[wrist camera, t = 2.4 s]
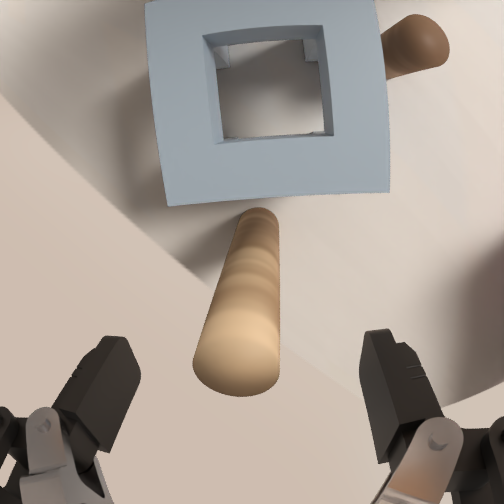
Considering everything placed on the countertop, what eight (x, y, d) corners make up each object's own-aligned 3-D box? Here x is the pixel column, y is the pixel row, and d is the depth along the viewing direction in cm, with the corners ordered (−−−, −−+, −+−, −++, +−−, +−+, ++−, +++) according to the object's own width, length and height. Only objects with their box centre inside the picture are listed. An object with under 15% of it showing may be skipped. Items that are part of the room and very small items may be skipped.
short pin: (359, 39, 13) (394, 9, 8) (398, 43, 13) (444, 20, 8) (364, 77, 15) (403, 62, 9) (402, 81, 14) (452, 71, 9)
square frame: (197, 45, 14) (144, 3, 7) (332, 35, 14) (370, -17, 6) (211, 169, 18) (167, 206, 11) (343, 160, 17) (389, 192, 10)
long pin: (236, 208, 19) (183, 338, 8) (277, 206, 19) (277, 338, 8) (240, 246, 20) (202, 395, 9) (280, 244, 20) (281, 396, 9)
